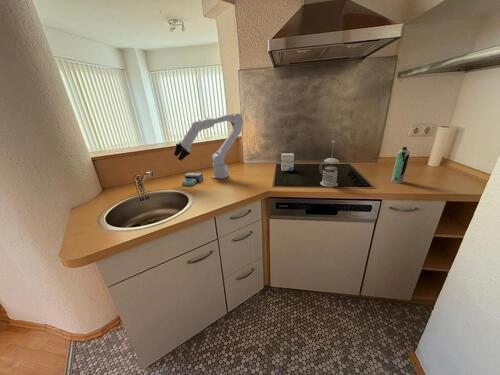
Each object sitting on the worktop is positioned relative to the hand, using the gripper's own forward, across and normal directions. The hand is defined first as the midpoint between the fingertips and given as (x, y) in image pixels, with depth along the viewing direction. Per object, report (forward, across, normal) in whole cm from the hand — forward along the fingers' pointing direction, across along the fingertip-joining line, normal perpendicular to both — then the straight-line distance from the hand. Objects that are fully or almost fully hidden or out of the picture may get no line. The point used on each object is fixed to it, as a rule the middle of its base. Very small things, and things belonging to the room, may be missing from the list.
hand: (177, 157), depth 125 cm
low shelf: (+8, +5, +16) cm, 18 cm away
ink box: (-34, +30, +61) cm, 76 cm away
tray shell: (+10, +9, +12) cm, 18 cm away
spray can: (-61, +88, +77) cm, 132 cm away
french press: (-38, +64, +55) cm, 93 cm away
